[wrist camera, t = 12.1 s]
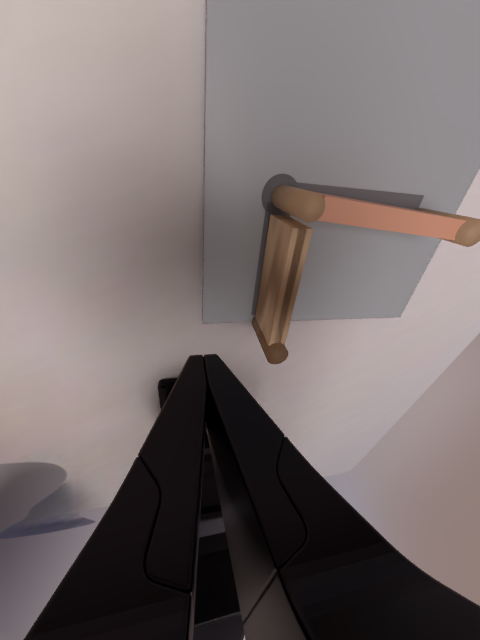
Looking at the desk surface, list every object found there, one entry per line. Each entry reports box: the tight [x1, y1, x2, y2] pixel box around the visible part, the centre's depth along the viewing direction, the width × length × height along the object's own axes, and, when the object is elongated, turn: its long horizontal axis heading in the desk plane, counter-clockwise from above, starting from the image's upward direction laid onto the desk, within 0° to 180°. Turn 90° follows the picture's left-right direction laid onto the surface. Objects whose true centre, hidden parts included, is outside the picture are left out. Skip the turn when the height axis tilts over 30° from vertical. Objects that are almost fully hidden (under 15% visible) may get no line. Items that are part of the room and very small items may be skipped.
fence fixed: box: [252, 214, 313, 364], centre depth 17 cm, size 10×2×4 cm, turn 175°
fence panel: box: [272, 185, 480, 247], centre depth 15 cm, size 13×2×4 cm, turn 81°
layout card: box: [203, 0, 480, 324], centre depth 17 cm, size 22×20×1 cm
